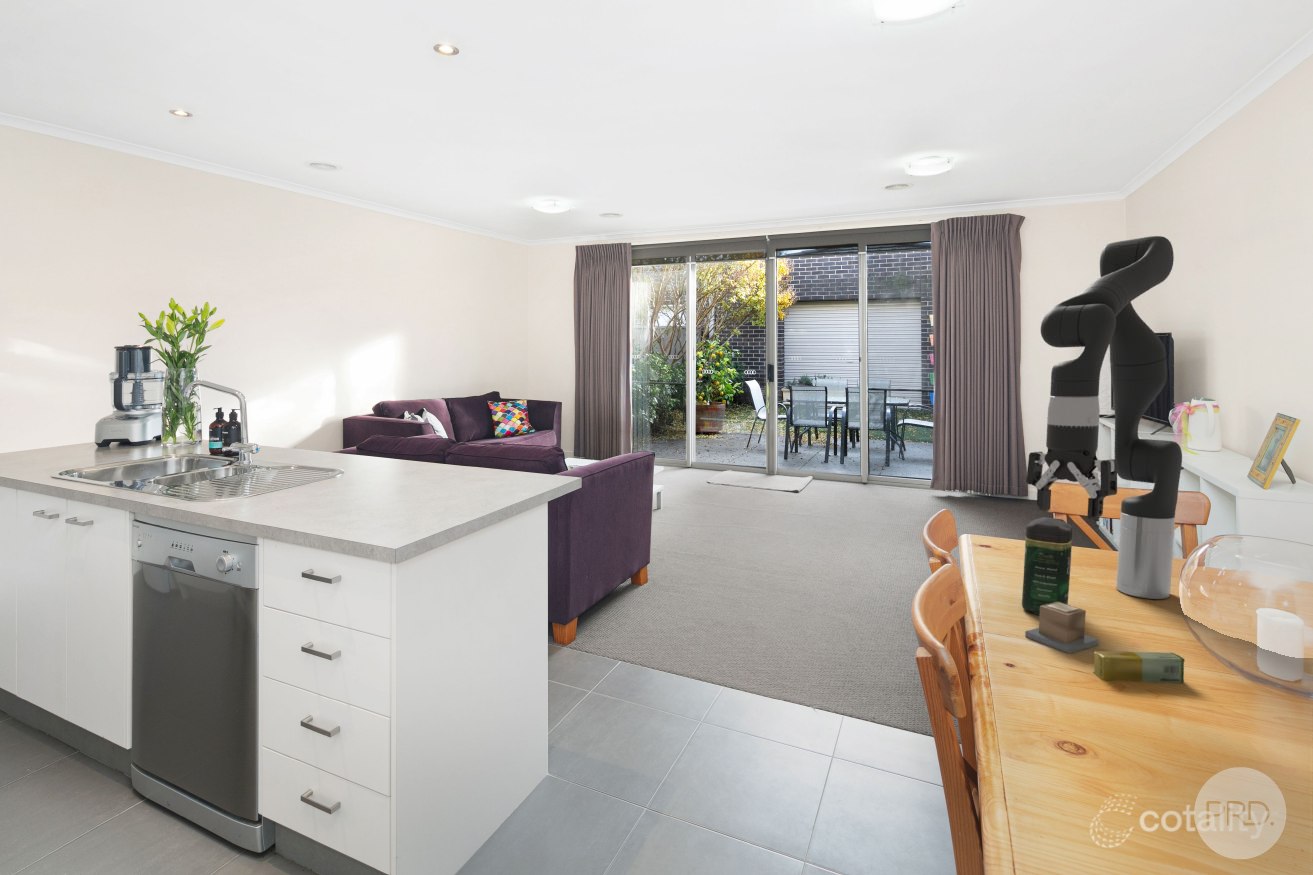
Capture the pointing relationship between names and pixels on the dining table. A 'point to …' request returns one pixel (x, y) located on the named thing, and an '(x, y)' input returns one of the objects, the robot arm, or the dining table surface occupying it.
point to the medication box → (1139, 666)
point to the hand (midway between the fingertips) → (1067, 514)
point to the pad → (1060, 645)
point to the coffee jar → (1046, 563)
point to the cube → (1062, 622)
